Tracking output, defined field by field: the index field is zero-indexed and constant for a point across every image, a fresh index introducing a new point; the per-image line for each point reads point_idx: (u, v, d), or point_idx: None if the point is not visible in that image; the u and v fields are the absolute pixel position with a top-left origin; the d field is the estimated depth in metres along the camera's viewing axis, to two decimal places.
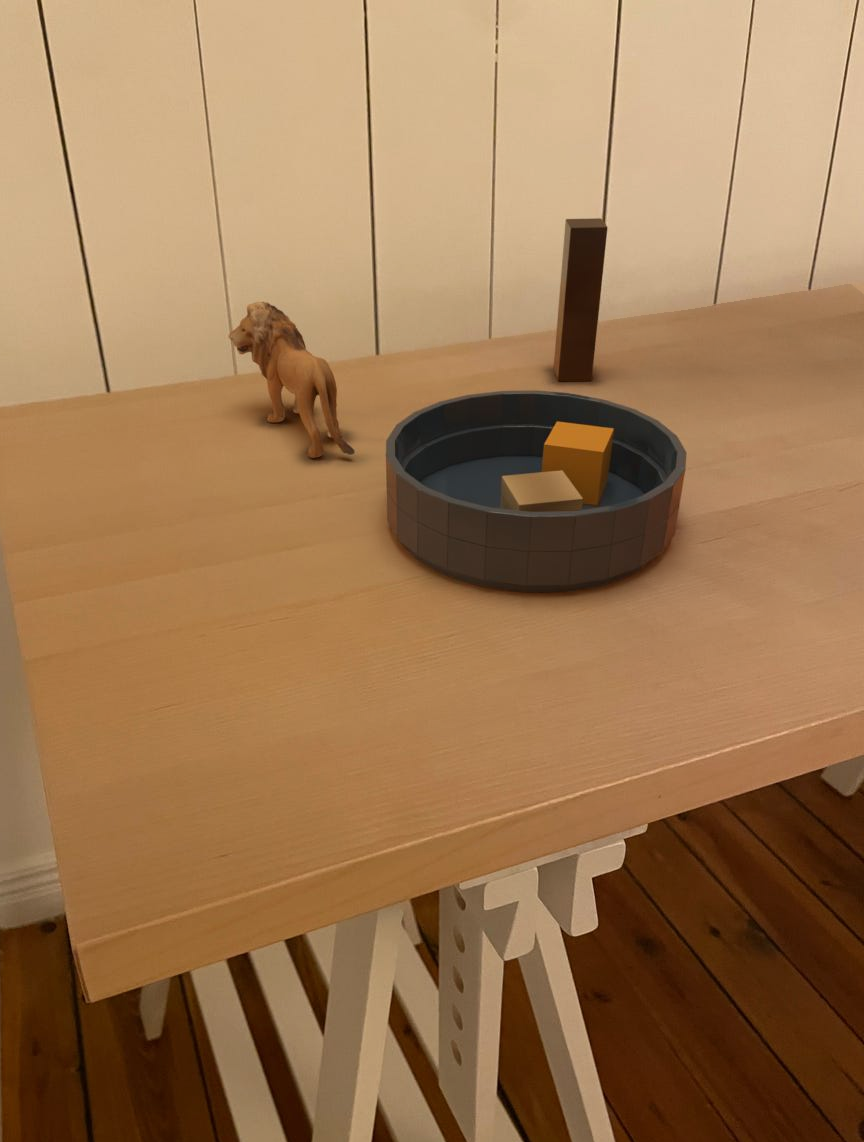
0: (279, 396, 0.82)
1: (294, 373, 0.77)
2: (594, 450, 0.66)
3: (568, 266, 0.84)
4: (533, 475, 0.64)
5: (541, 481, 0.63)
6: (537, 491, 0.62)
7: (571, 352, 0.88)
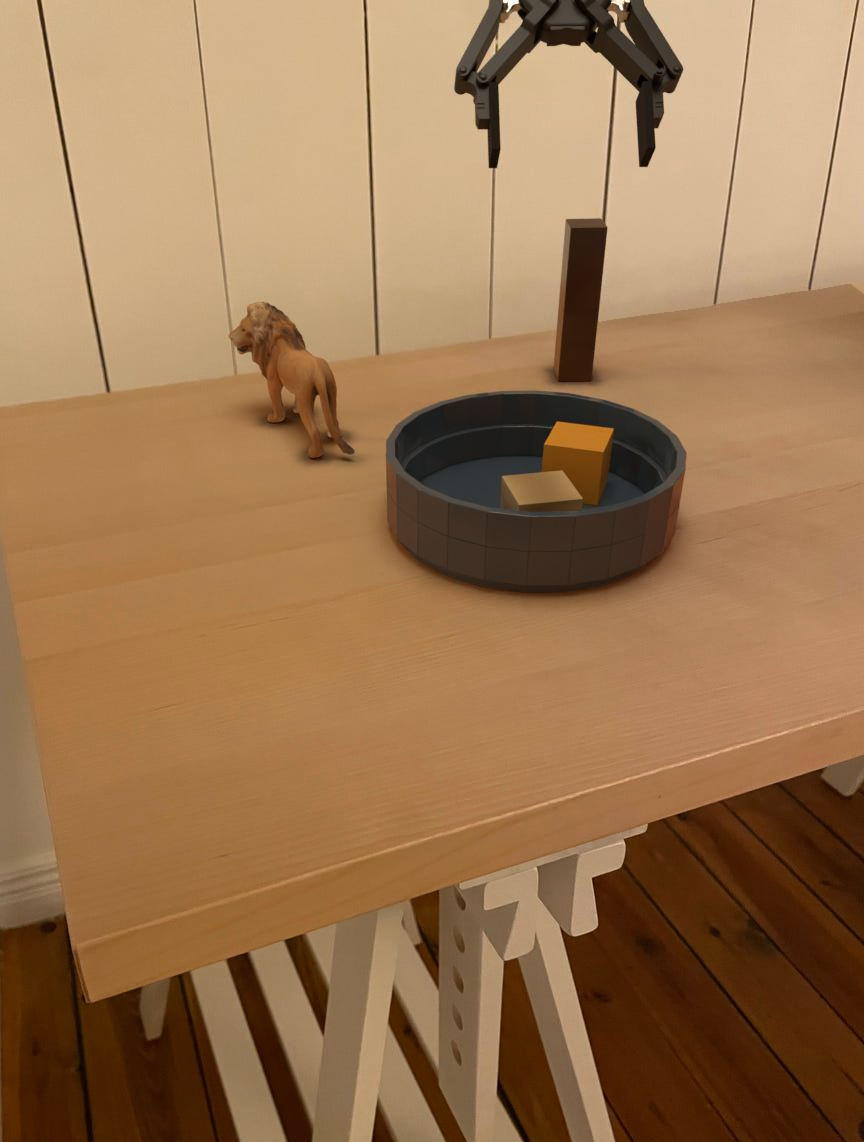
0: (279, 396, 0.82)
1: (294, 373, 0.77)
2: (594, 450, 0.66)
3: (568, 266, 0.84)
4: (533, 475, 0.64)
5: (541, 481, 0.63)
6: (537, 491, 0.62)
7: (571, 352, 0.88)
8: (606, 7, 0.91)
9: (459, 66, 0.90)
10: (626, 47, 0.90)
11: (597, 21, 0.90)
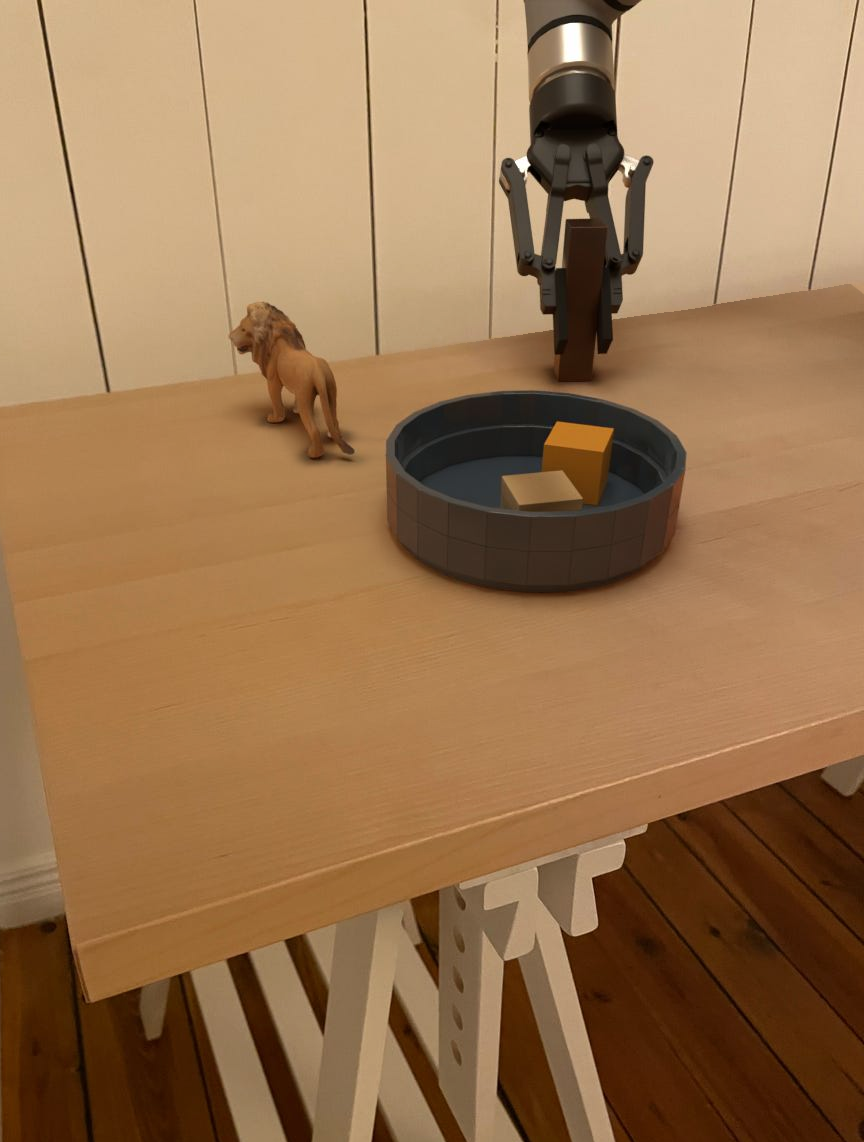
0: (279, 396, 0.82)
1: (294, 373, 0.77)
2: (594, 450, 0.66)
3: (568, 266, 0.84)
4: (533, 475, 0.64)
5: (541, 481, 0.63)
6: (537, 491, 0.62)
7: (571, 352, 0.88)
8: (618, 162, 0.87)
9: (522, 253, 0.85)
10: (603, 220, 0.86)
11: (591, 182, 0.86)
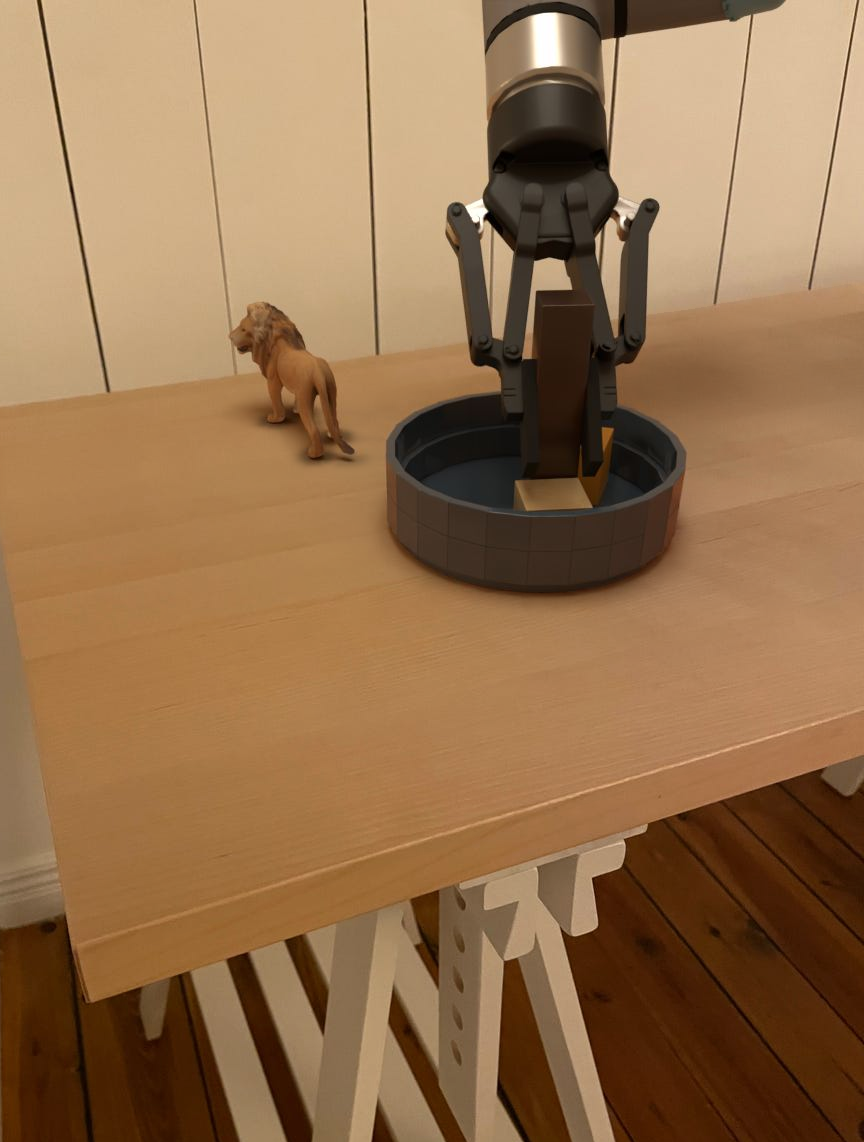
0: (279, 396, 0.82)
1: (294, 373, 0.77)
2: None
3: (539, 358, 0.59)
4: (547, 481, 0.63)
5: (553, 487, 0.62)
6: (547, 497, 0.61)
7: (546, 472, 0.63)
8: (611, 208, 0.62)
9: (475, 337, 0.61)
10: (590, 290, 0.61)
11: (573, 237, 0.61)
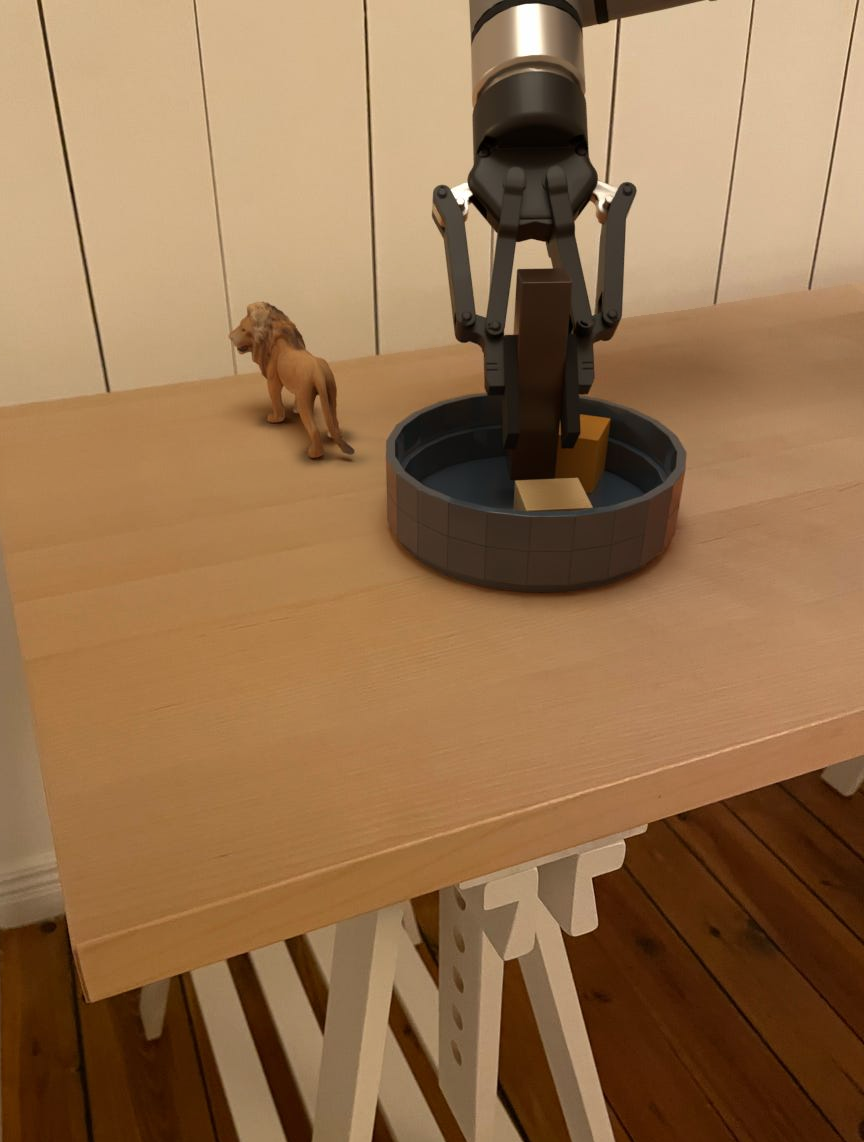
0: (279, 396, 0.82)
1: (294, 373, 0.77)
2: (588, 438, 0.68)
3: (520, 333, 0.62)
4: (547, 481, 0.63)
5: (553, 487, 0.62)
6: (547, 497, 0.61)
7: (527, 444, 0.66)
8: (590, 191, 0.65)
9: (459, 314, 0.63)
10: (569, 269, 0.64)
11: (553, 218, 0.64)
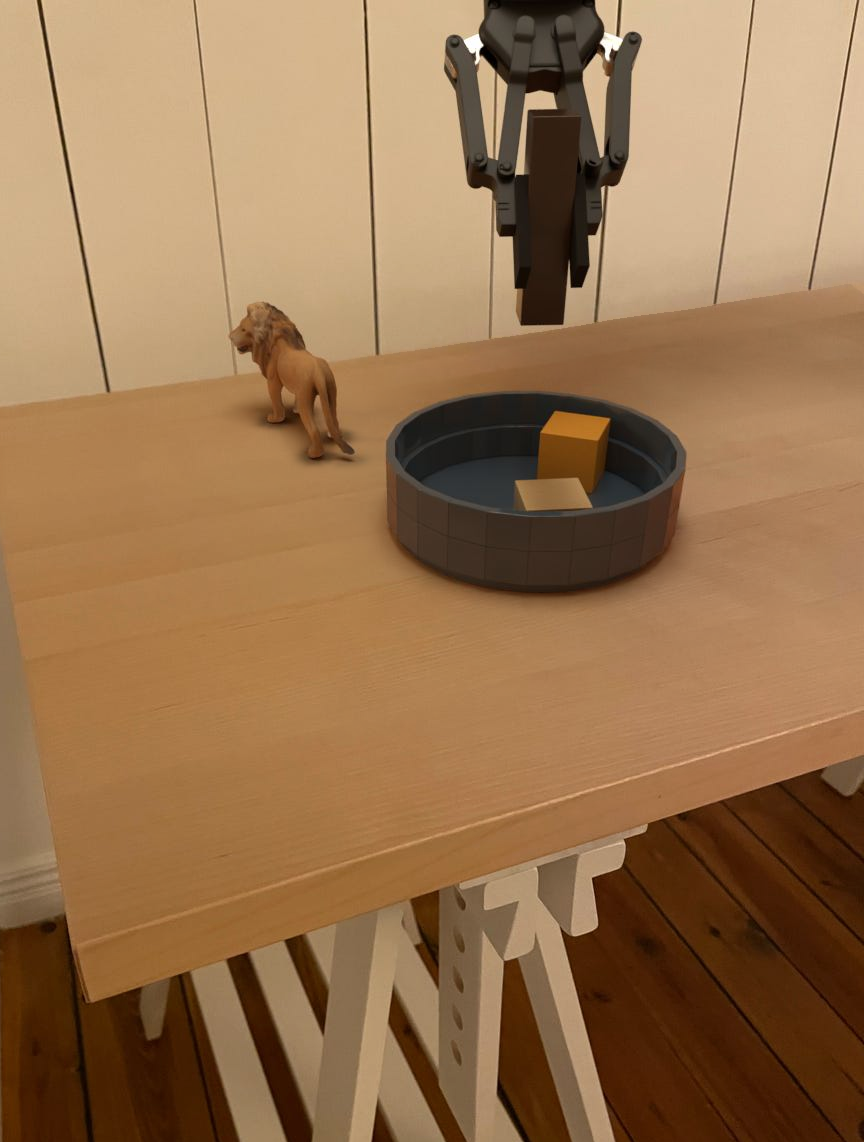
0: (279, 396, 0.82)
1: (294, 373, 0.77)
2: (588, 438, 0.68)
3: (531, 170, 0.64)
4: (547, 481, 0.63)
5: (553, 487, 0.62)
6: (547, 497, 0.61)
7: (537, 287, 0.68)
8: (597, 41, 0.68)
9: (472, 156, 0.66)
10: None
11: (562, 65, 0.66)
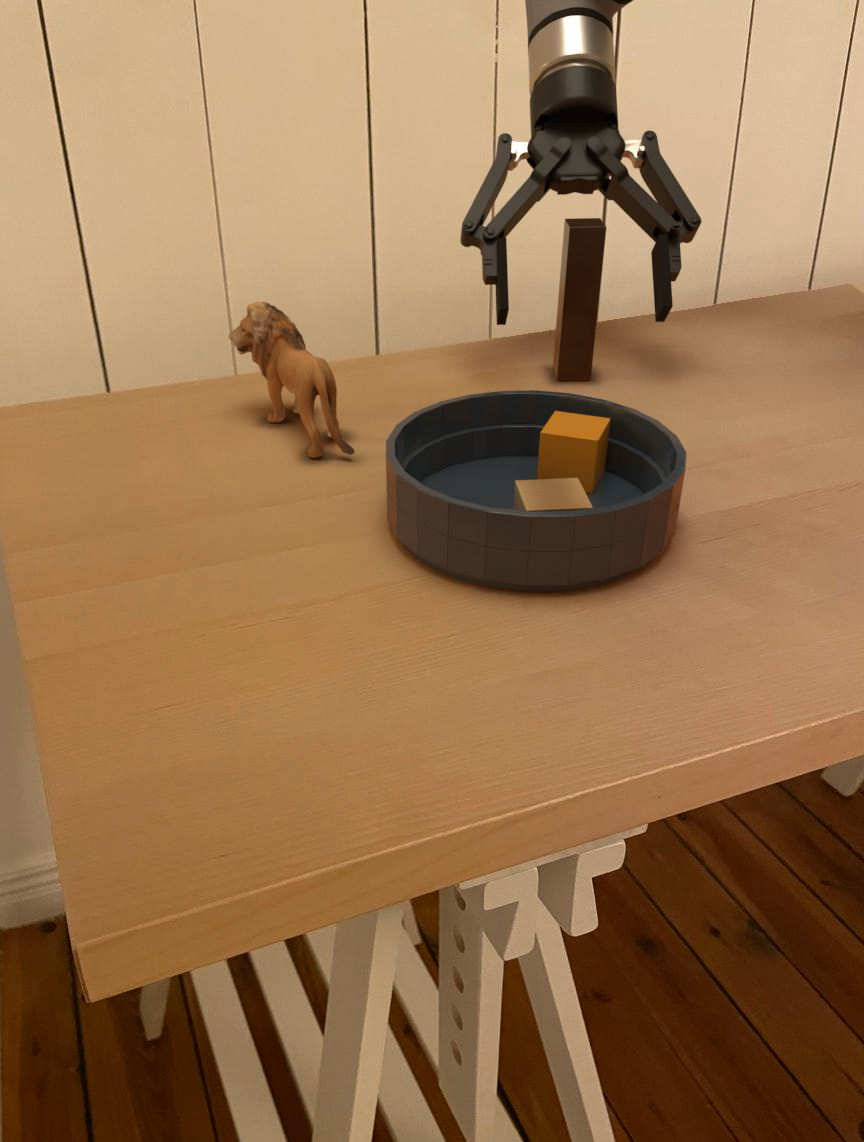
0: (279, 396, 0.82)
1: (294, 373, 0.77)
2: (588, 438, 0.68)
3: (567, 266, 0.84)
4: (547, 481, 0.63)
5: (553, 487, 0.62)
6: (547, 497, 0.61)
7: (570, 352, 0.88)
8: (619, 155, 0.87)
9: (465, 221, 0.86)
10: (640, 198, 0.86)
11: (610, 172, 0.86)
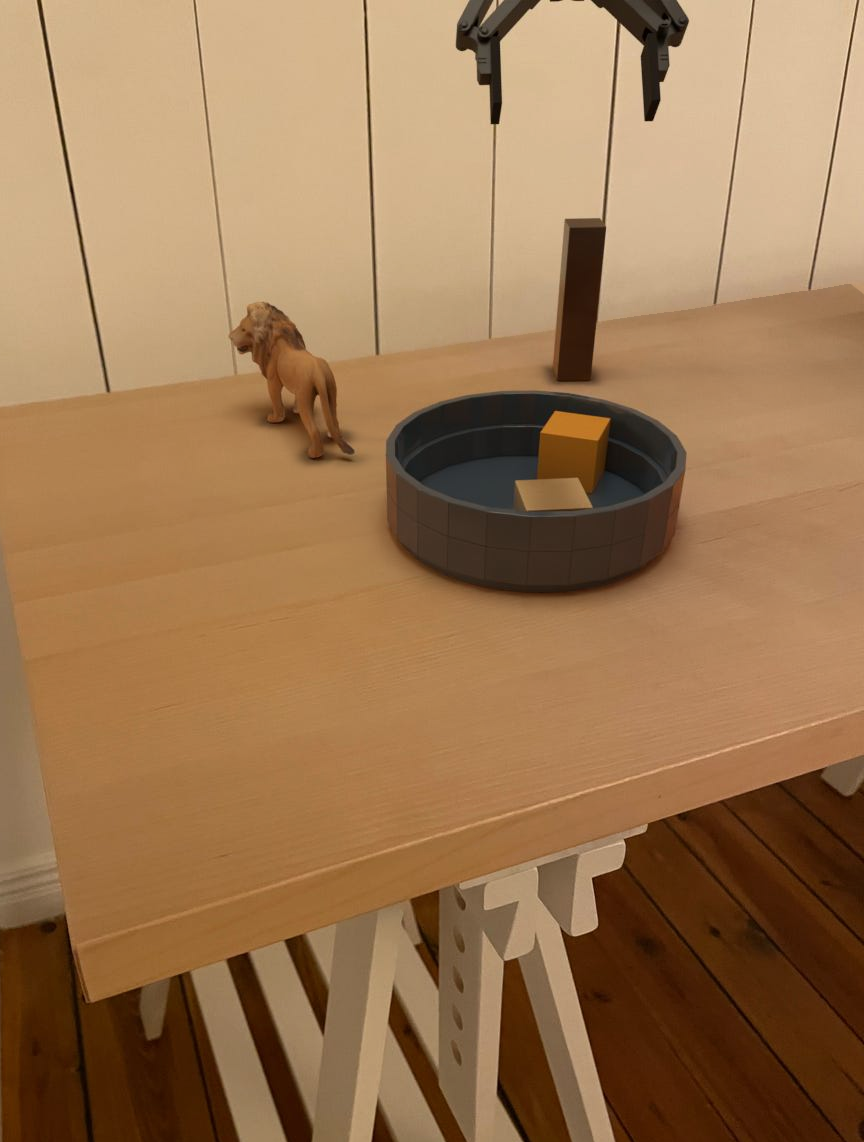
0: (279, 396, 0.82)
1: (294, 373, 0.77)
2: (588, 438, 0.68)
3: (567, 266, 0.84)
4: (547, 481, 0.63)
5: (553, 487, 0.62)
6: (547, 497, 0.61)
7: (570, 352, 0.88)
8: None
9: (460, 21, 0.88)
10: (630, 0, 0.88)
11: None
